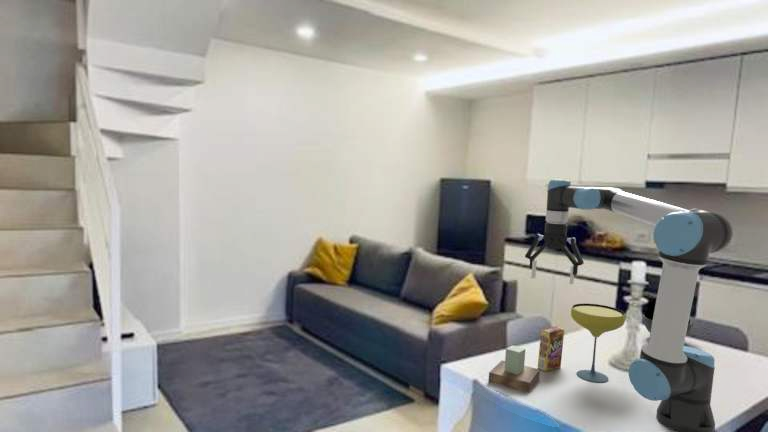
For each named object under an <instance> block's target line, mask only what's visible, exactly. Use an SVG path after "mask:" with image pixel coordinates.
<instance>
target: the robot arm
mask: <svg viewBox="0 0 768 432" xmlns="http://www.w3.org/2000/svg"><path fill="white" fill-rule="evenodd" d="M546 192H547V198H546V212H545V222H546V223H545V225H544V226H545V227H544V234H543V235H542V234H540V233H537V234H535V237H534V240H533V241H532V243H531V245H530V247H529V248H528V250H527V251H526V253H525V255H524V257H525V258H526V259H528V260H529V269H531V277H530V278H531V279H535V278H536V276H537V263H538V261H537V257H539V255H541V254H542V253H543V252H544V251H545V250H546V249H547V248H549V249H557V250H560V249H561V251H562V252H563V253H564V255H565V256H566V257H567V258H568V261H570V262H571V265H570V274H569V275H570V276H569V285H573V284H574V281H575V276H576V275H578V270H579V268H578V267H579V266H582V265H584V262H585V261H584V260H583V257H582V255H581V252H580V250H579V248H578V245H577V239H576V237H568V235H567V233H568V224H567V223H568V221H569V209H579V210H583V211H585V210H587V211H589V210H590V211H591V210H605V211H609V212H613V213H615V214H619V215H622V216H625V217H628V218H630V219H635V220H637V221H640V222H643V223H645V224H649V225H652V226H654V230H653V237H652V238H653V239H652V240H653V242H654V244H655V247H656V248H657V249H658V258H659V259H660V261H662V268H661V274H660V278H659V283H658V284H659V285H658V288H657V289H658V290H657V296H656V299H657V300H656V305H655V310H654V316H653V321H652V326H651V332H650V333H649V338H648V342H645V343H644V344H642V345H641V348H640V354H639V358H636V359H635V360H633V361H632V362H630V364H629V367H628V378H629V381H630V384H631V385H632V386H633V389H634V390H635V392H637V394H638V395H639V396H641V397H642V398H644V399H647V400H648V401H654V402H657V401H660V402H659V404H658V406H657V409H656V419H657V421H658V422H659V423H660V424H662V426H663V425H664V426H665V427H666V428H668V429H670V430H672V431H674V432H715V430H716V422H715V418H714V415H713V410H712V406H711V401H712V400H711V399H712V393H713V392H712V391H713V383H714V375H715V369H716V367H715V357H714V356H713V355H712V354H710V353H709V352H706V351H705V350H701V349H699V348H694V347H691V346H687V345H685V343H686V337H687V336H686V332H687V327H688V322H689V319H690V317H691V311H692V306H693V301H694V296H695V292H696V291H695V290H696V286H697V281H698V277H699V271H700V270H701V269H702V268H705V267H706V266H707V264H708V261H709V257H710V254H715V253H718V252H720V251H722V250H724V249H725V248H727V246H729V244H730V243H731V241H732V238H733V234H734V233H733V230H734V229H733V226H732V224H731V222H730V221H729V220H728V219H727V218H726V217H725V216H723V214H721V213H717V212H713V211H708V210H703V209H699V208H692V209H690V210H689V209H686V208H682V207H679V206H676V205H672V204H668V203H665V202H662V201H657V200H655V199H650V198H646V197H643V196H639V195H636V194H632V193H629V192H625V191H623V190H622V189H621V188H617V187H613V186H612V187H611V186H610V187H599V186H597V187H595V186H572V185H571V180H565V179H550V180H549V182H548V187H547V191H546ZM542 240H543V241H544V243H543V244H542V245H541V246H540V247H539V249H537V250H536V252H534V251H535V249H536V247H537V246H538V244H539V242H540V241H542ZM566 243H569V244H570V245H571V246H570V247H571V248H572V251H573V253H574V255H573V254H572V253H571V251H570V250H569V248H568V246H567V245H566ZM574 256H575V257H574Z"/></svg>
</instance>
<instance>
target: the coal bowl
mask: <svg viewBox="0 0 768 432" xmlns="http://www.w3.org/2000/svg"><path fill="white" fill-rule="evenodd" d="M656 300H657V298H654V299H652V300H651V301H649V302H648V304H647V309H646V311H645V312H644V314H643V315H642V322H643V324H644V326H645V328H646V330H647V332H648V333H649V334H650V332H651V326H652V321H653V316H654V310H655V305H656ZM693 326H694V322H693V321H691V319H690V318H689V322H688V327H687V332H686V337H687V336H688V335H689V334H690V333H691V331H692V329H693Z"/></svg>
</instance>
